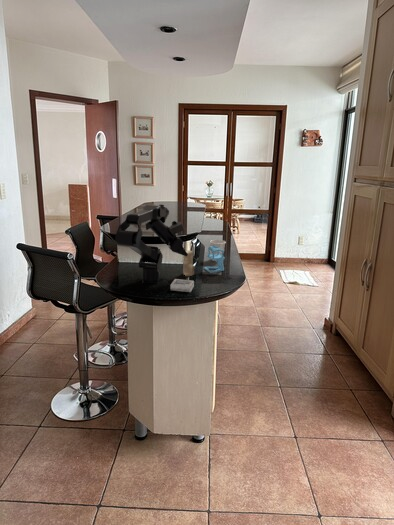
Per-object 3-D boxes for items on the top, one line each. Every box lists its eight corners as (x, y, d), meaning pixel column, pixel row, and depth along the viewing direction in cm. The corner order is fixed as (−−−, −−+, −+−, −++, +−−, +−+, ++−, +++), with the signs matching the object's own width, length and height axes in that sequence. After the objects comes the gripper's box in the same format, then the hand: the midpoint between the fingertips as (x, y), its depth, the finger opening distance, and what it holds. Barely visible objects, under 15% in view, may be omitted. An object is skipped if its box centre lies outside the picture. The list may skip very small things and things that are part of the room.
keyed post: (184, 276, 167) (185, 252, 164) (183, 273, 170) (183, 250, 167) (194, 275, 168) (195, 252, 165) (192, 273, 171) (193, 250, 168)
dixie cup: (218, 263, 189) (219, 244, 186) (205, 259, 193) (206, 241, 190) (227, 259, 195) (228, 241, 192) (214, 256, 200) (215, 238, 197)
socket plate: (170, 290, 149) (170, 284, 149) (174, 284, 156) (174, 278, 155) (190, 292, 148) (190, 286, 147) (193, 286, 155) (194, 280, 154)
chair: (226, 272, 175) (227, 247, 172) (210, 273, 172) (211, 248, 168) (219, 267, 182) (220, 243, 178) (203, 268, 179) (205, 244, 175)
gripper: (178, 219, 151) (203, 245, 157) (168, 213, 168) (191, 235, 175) (159, 239, 151) (185, 263, 157) (151, 230, 168) (174, 252, 174)
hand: (184, 252), depth 166 cm, fingers open, 9 cm apart
